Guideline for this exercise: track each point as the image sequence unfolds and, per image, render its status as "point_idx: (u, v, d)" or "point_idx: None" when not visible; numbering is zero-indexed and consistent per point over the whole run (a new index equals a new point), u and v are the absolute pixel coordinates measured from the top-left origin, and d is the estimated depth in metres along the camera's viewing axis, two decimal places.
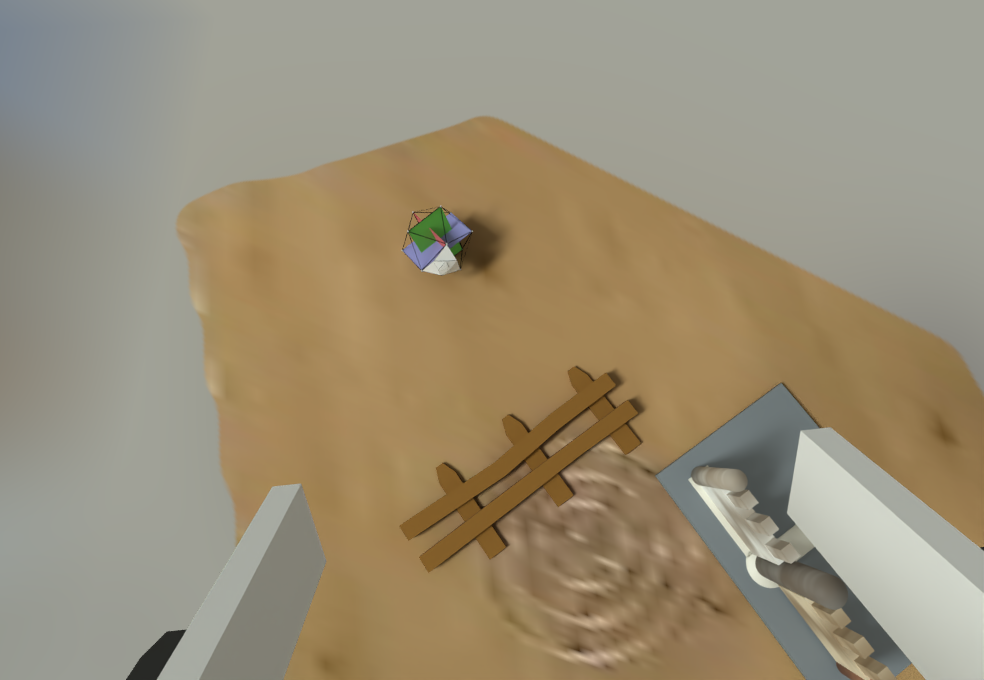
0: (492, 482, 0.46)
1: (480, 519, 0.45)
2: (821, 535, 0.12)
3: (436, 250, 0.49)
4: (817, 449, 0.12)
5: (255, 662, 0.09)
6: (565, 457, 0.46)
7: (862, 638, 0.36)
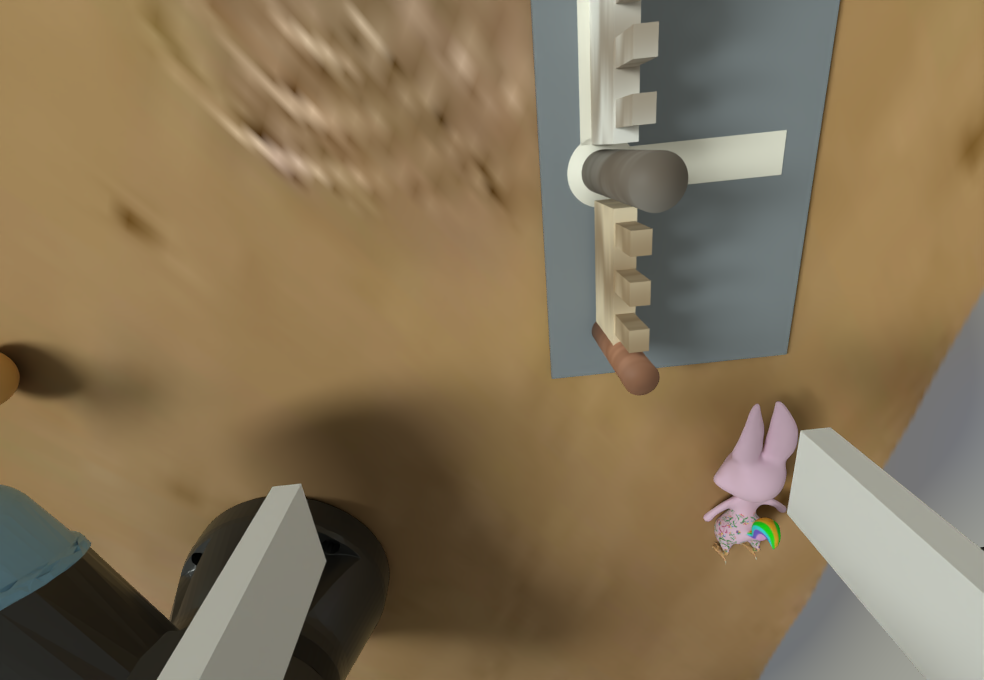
0: None
1: None
2: (821, 535, 0.12)
3: None
4: (817, 449, 0.12)
5: (255, 662, 0.09)
6: None
7: (647, 282, 0.23)
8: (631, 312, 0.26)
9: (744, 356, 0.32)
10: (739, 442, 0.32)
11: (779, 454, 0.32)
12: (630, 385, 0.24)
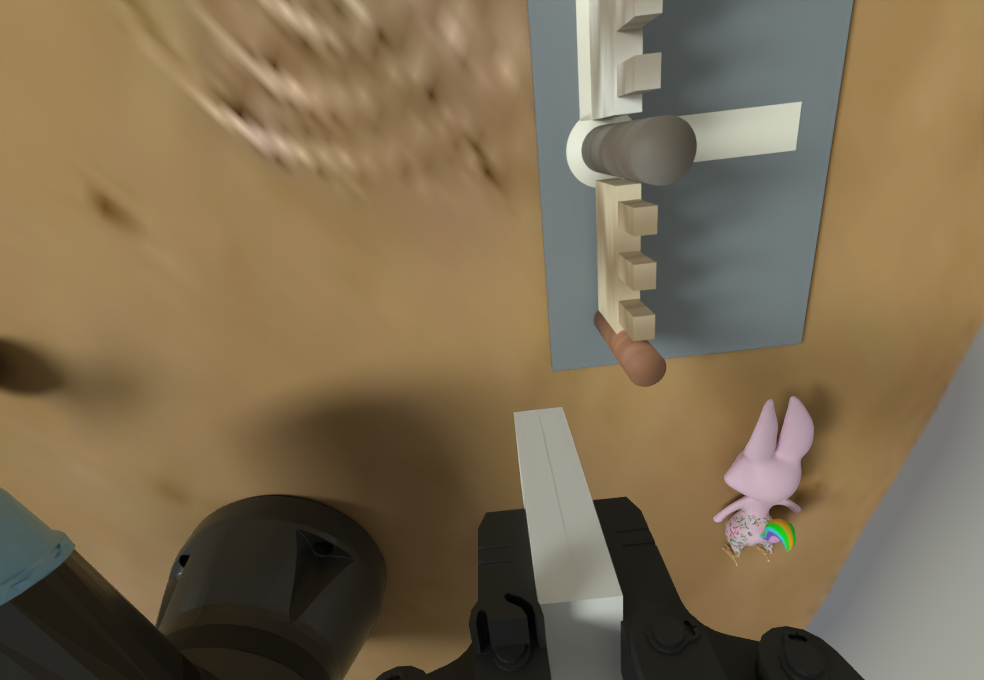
0: None
1: None
2: None
3: None
4: None
5: None
6: None
7: (652, 264, 0.21)
8: (635, 298, 0.24)
9: (756, 346, 0.30)
10: (751, 440, 0.30)
11: (794, 452, 0.30)
12: (635, 376, 0.22)
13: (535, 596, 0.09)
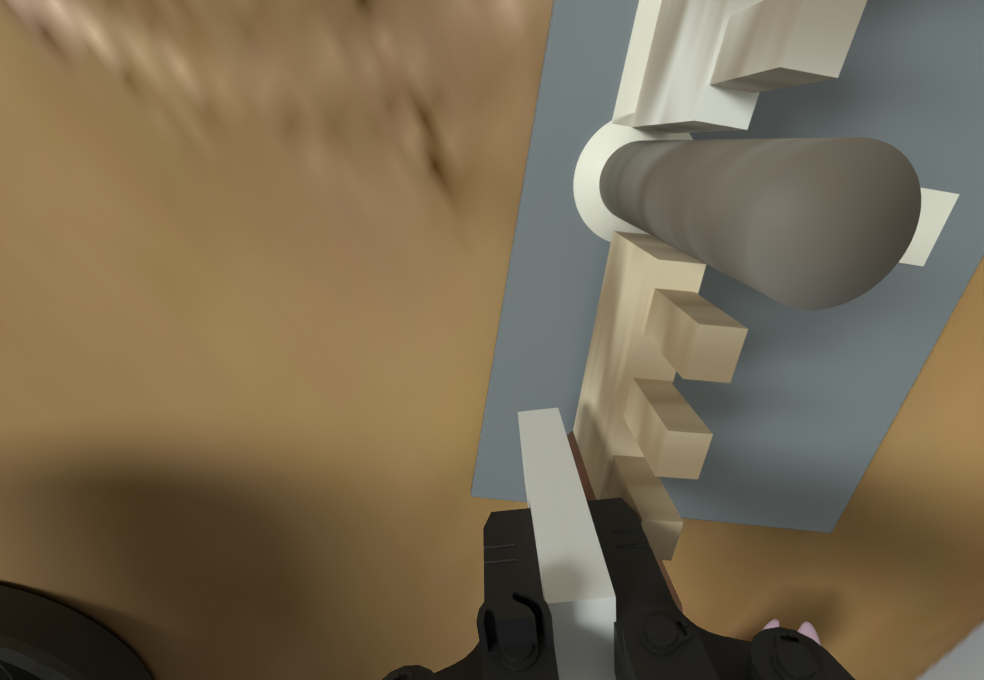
0: None
1: None
2: None
3: None
4: (536, 425, 0.14)
5: None
6: None
7: (705, 436, 0.10)
8: (644, 457, 0.13)
9: (771, 523, 0.21)
10: None
11: None
12: None
13: (541, 595, 0.09)
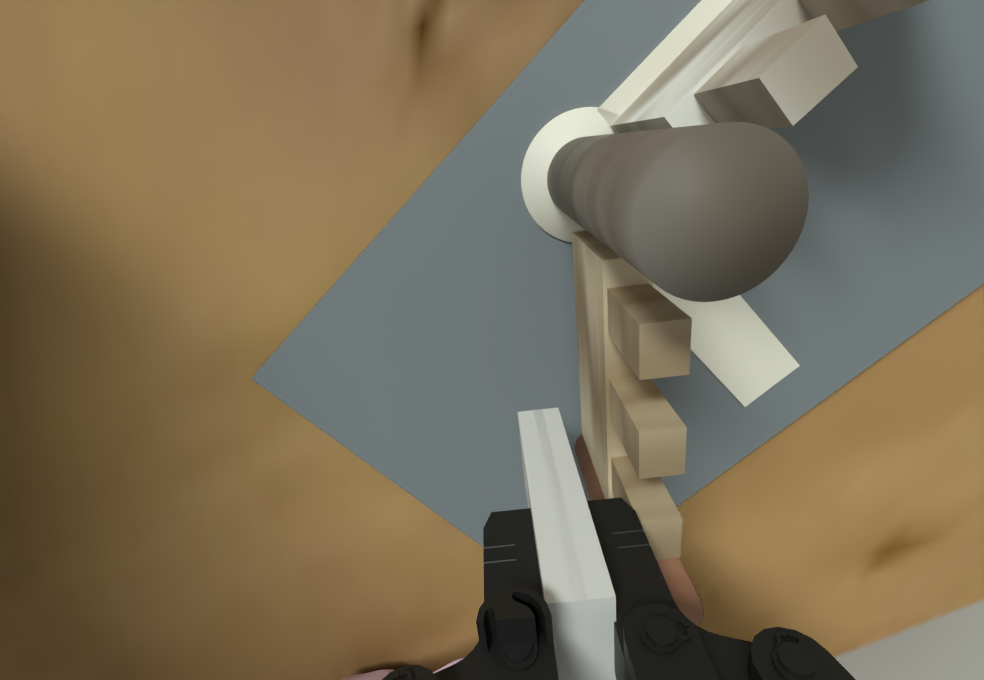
0: None
1: None
2: None
3: None
4: (536, 425, 0.14)
5: None
6: None
7: (679, 431, 0.10)
8: None
9: None
10: None
11: None
12: None
13: (541, 595, 0.09)
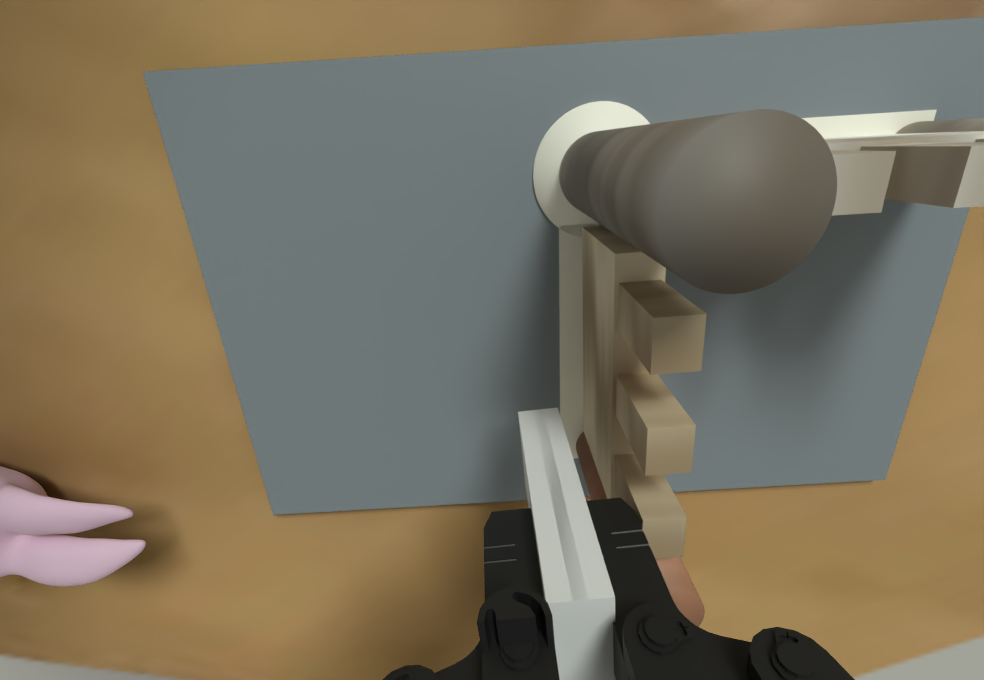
0: None
1: None
2: None
3: None
4: (535, 425, 0.14)
5: None
6: None
7: (688, 428, 0.10)
8: None
9: (260, 455, 0.18)
10: (34, 498, 0.16)
11: (27, 564, 0.17)
12: None
13: (542, 595, 0.09)
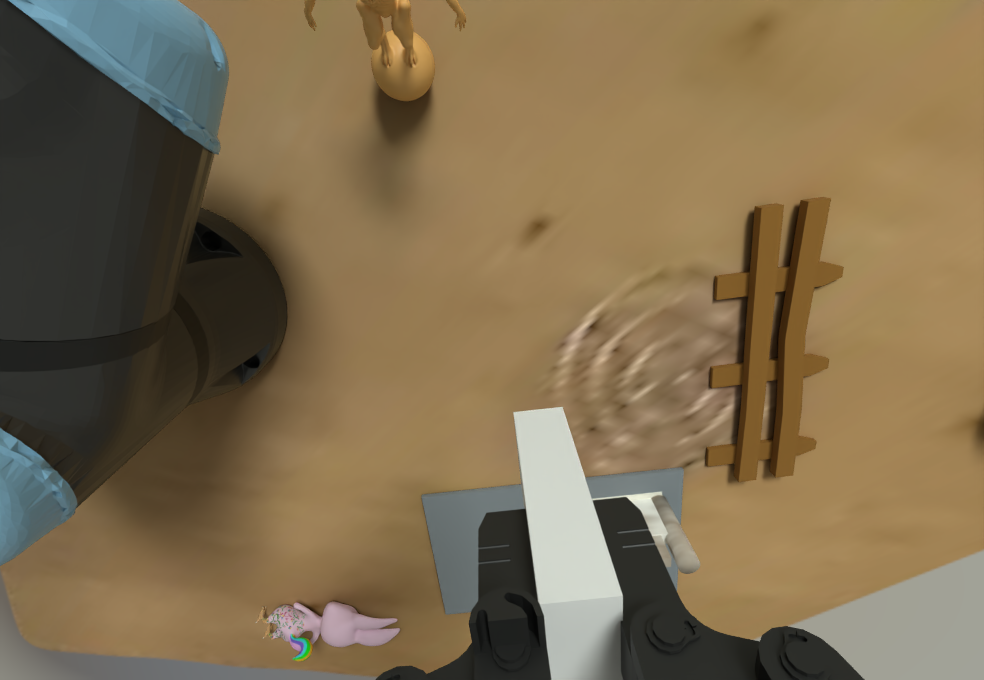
0: (789, 323, 0.39)
1: (767, 292, 0.37)
2: None
3: None
4: None
5: None
6: (754, 403, 0.41)
7: None
8: None
9: (443, 595, 0.50)
10: (369, 618, 0.48)
11: (362, 639, 0.49)
12: None
13: (535, 596, 0.09)
